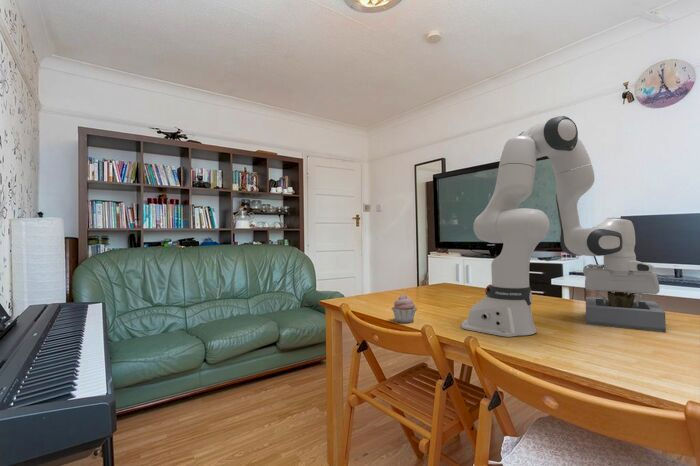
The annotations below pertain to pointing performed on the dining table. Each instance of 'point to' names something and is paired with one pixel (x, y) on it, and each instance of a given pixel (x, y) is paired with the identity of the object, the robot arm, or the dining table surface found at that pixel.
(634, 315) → the gray square tray
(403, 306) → the cupcake
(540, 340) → the dining table surface
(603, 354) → the dining table surface
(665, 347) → the dining table surface
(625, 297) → the wire cup brush
